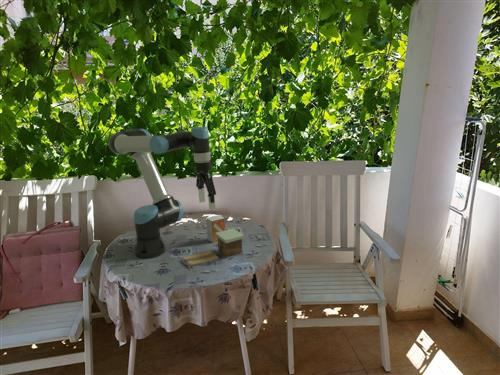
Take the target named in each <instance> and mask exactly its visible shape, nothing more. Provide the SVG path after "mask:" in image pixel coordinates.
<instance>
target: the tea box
mask: <svg viewBox="0 0 500 375" xmlns="http://www.w3.org/2000/svg"><path fill="white" fill-rule="evenodd" d="M217 245H218V246H217V247H218V253H219V254H220V255H222V256H223V257H225V258H230V257H234V256H237V255H241V254H242V253H243V239H240V240H236V241H233V242H229V243H225V242H223V241H222V240H220V239H219V238H218V242H217Z"/></svg>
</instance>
